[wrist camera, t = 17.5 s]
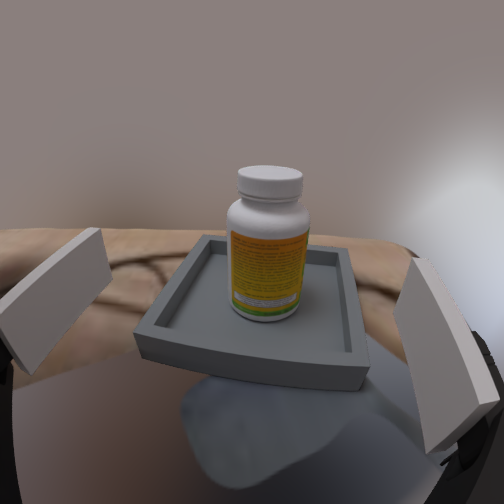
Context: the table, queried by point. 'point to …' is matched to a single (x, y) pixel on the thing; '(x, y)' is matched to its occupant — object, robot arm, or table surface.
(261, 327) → the grey tray
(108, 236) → the table surface
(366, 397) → the table surface
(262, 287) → the supplement bottle
